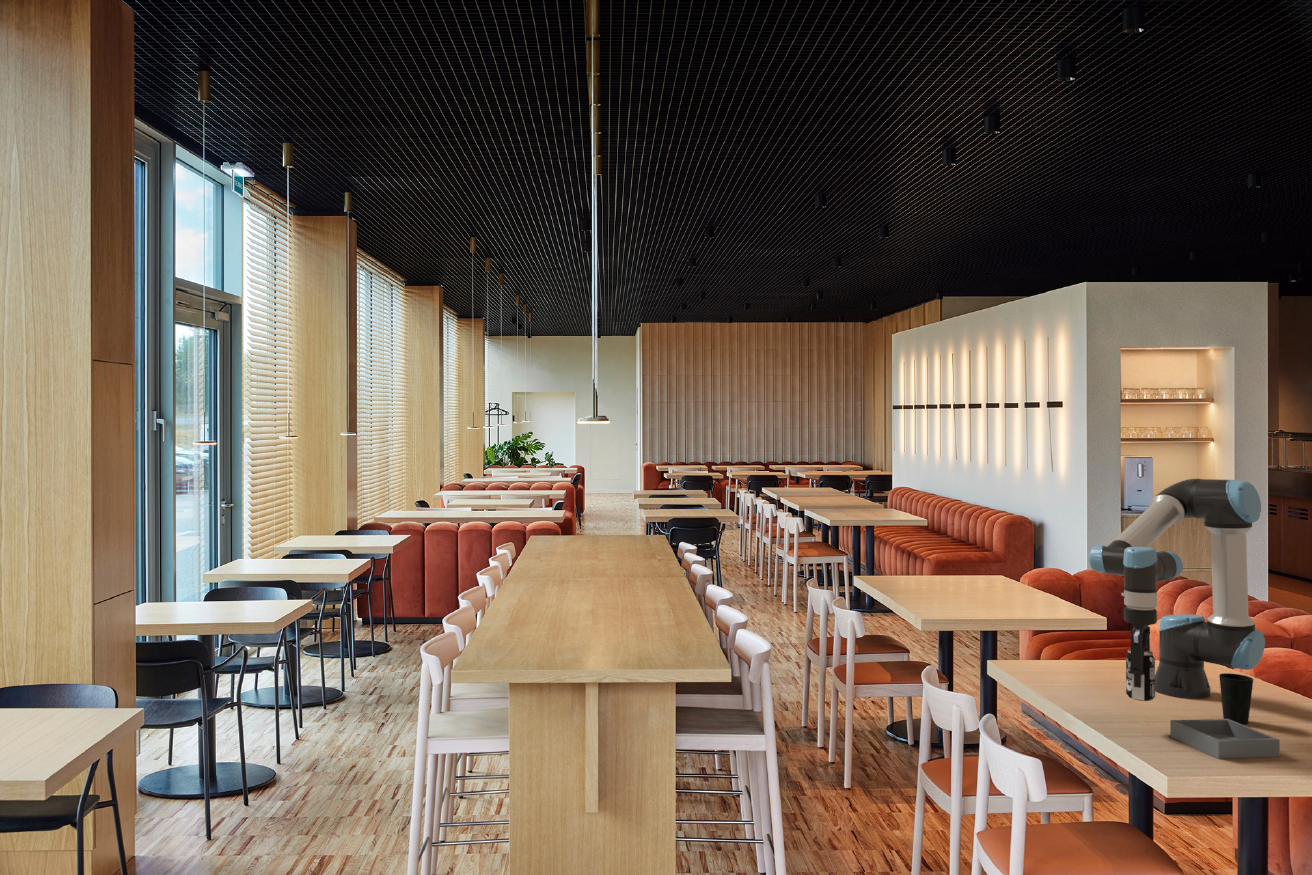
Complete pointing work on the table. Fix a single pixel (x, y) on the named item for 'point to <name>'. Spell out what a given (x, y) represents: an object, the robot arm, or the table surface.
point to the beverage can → (1148, 675)
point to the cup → (1236, 697)
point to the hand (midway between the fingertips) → (1140, 695)
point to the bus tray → (1224, 738)
